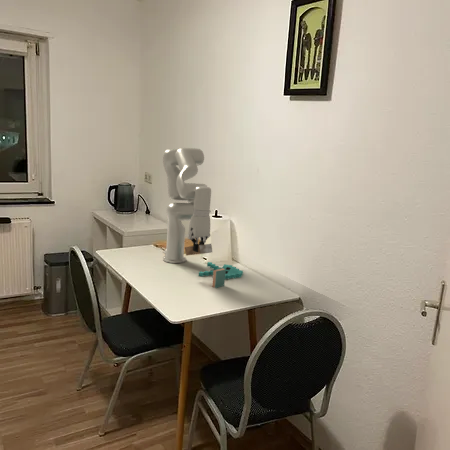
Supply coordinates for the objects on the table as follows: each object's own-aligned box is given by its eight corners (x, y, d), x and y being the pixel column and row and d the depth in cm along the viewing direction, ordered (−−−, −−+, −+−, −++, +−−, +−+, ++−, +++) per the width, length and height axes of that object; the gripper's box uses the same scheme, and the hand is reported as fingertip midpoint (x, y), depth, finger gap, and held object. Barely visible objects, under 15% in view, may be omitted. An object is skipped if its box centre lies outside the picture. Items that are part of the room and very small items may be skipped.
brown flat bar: (185, 255, 220) (184, 247, 220) (190, 254, 222) (189, 246, 222) (207, 253, 208) (206, 244, 208) (212, 252, 210) (211, 243, 211)
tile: (212, 286, 211) (213, 270, 209) (221, 284, 215) (222, 268, 214) (215, 288, 210) (216, 271, 208) (224, 285, 214) (225, 269, 212)
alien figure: (198, 276, 225) (238, 282, 221) (198, 272, 224) (238, 278, 221) (208, 265, 244) (244, 271, 241) (208, 261, 244) (245, 267, 240)
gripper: (208, 210, 220) (205, 246, 224) (182, 212, 208) (179, 251, 212) (219, 213, 214) (216, 250, 218) (193, 216, 203) (190, 255, 207)
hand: (198, 250), depth 215 cm, fingers closed on brown flat bar, 3 cm apart
